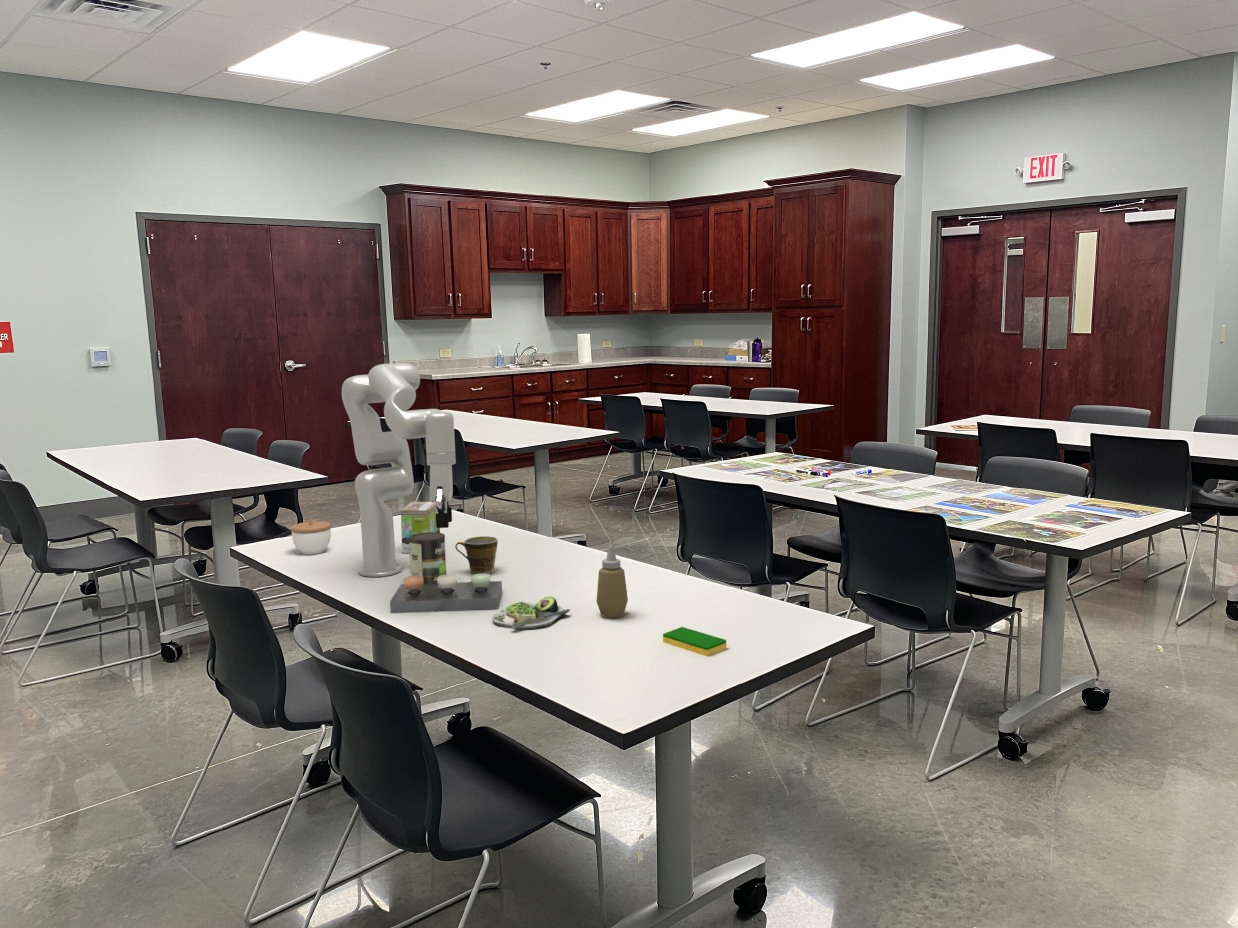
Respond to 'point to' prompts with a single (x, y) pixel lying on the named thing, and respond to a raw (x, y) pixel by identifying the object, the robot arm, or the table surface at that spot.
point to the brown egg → (413, 584)
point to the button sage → (480, 581)
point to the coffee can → (428, 556)
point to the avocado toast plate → (530, 614)
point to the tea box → (417, 521)
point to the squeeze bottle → (611, 587)
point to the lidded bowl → (311, 536)
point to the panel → (446, 598)
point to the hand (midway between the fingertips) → (444, 524)
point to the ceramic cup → (480, 553)
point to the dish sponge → (694, 641)
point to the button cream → (447, 582)
